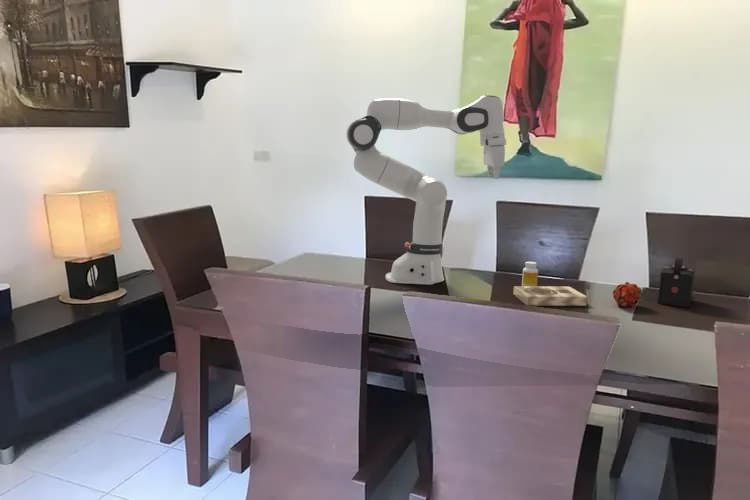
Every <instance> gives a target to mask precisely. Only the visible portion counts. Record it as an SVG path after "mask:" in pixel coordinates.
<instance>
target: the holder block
mask: <svg viewBox="0 0 750 500" xmlns="http://www.w3.org/2000/svg"><path fill="white" fill-rule="evenodd" d="M512 294H513V296H514V295H515V298H517V299H518V300H520V301H521V302H522V303H523V304H525V305H526V306H563V307H564V306H565V307H566V306H569V307H570V306H584V307H585V306H587V303H588V296H587V295H585V294H584V293H582V292H580V291H578V290H576V289H575V288H573V287H572V286H561V285H560V286H557V285H556V286H555V285H554V286H551V285H549V286H548V285H546V286H544V285H543V286H542V285H541V286H540V285H539V286H538V285H537V286H522V285H521V286H520V285H519V286H518V285H517V286H515V285H514V286H513V293H512Z"/></svg>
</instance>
